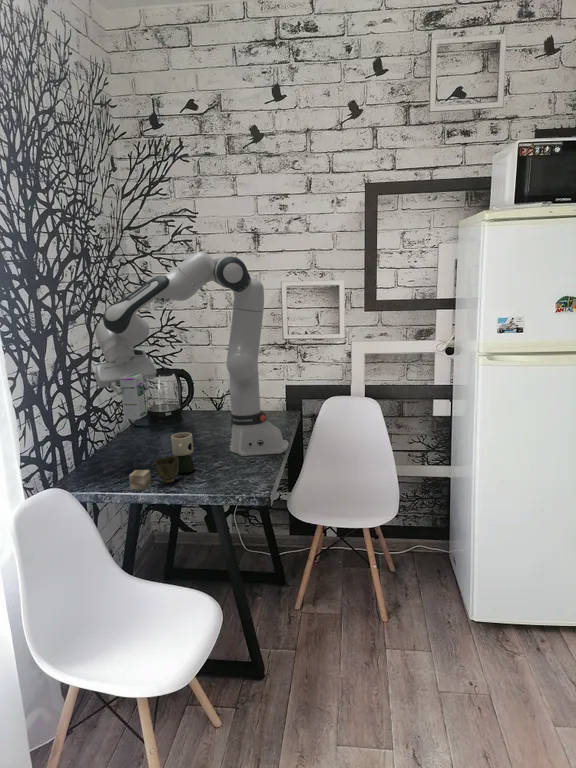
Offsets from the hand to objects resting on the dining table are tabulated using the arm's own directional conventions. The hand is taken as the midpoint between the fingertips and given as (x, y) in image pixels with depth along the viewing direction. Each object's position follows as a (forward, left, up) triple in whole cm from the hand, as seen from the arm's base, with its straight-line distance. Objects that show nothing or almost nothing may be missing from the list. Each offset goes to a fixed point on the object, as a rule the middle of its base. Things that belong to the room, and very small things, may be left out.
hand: (133, 391), depth 186 cm
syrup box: (+1, 0, -9) cm, 9 cm away
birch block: (-5, +13, -29) cm, 32 cm away
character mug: (-15, -1, -29) cm, 32 cm away
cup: (-13, +9, -29) cm, 33 cm away
